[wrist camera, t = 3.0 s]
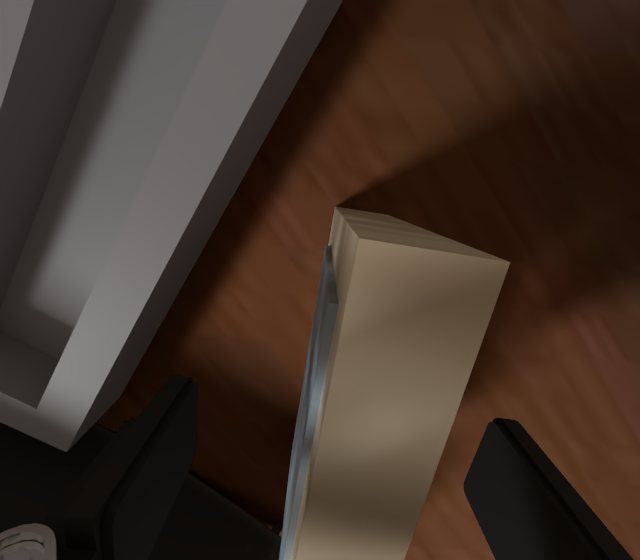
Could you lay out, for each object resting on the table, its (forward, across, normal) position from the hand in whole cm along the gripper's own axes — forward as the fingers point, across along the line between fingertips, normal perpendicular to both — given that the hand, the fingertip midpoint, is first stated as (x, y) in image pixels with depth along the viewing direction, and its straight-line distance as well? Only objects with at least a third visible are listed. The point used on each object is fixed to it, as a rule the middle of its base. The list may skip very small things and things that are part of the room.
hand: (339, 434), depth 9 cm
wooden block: (+6, 0, 0) cm, 6 cm away
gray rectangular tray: (+6, +10, -6) cm, 13 cm away
